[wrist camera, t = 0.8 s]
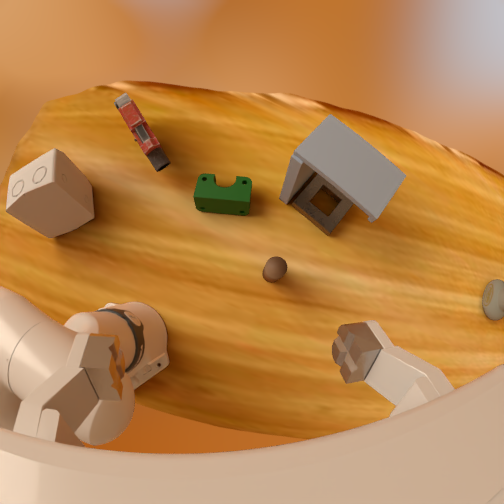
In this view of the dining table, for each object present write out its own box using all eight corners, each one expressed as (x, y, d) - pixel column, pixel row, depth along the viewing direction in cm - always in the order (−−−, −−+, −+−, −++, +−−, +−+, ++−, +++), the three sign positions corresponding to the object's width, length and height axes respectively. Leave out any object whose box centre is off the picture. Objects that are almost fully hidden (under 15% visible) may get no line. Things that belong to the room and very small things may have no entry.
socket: (327, 235, 62) (330, 233, 60) (291, 205, 63) (293, 202, 61) (352, 202, 64) (356, 199, 61) (318, 174, 65) (321, 170, 62)
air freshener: (492, 323, 59) (516, 324, 49) (476, 314, 59) (501, 314, 50) (501, 286, 61) (524, 283, 51) (485, 276, 61) (509, 272, 51)
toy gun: (160, 178, 68) (151, 169, 53) (122, 115, 64) (106, 93, 49) (174, 170, 68) (168, 157, 53) (135, 107, 64) (122, 83, 49)
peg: (272, 285, 61) (277, 282, 49) (258, 274, 61) (261, 268, 49) (283, 272, 61) (291, 266, 49) (270, 261, 61) (275, 252, 50)
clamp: (242, 200, 68) (260, 180, 60) (239, 223, 66) (257, 204, 58) (193, 184, 64) (205, 161, 56) (187, 207, 61) (199, 185, 54)
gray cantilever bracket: (336, 246, 62) (375, 221, 41) (279, 198, 64) (292, 152, 43) (363, 210, 63) (407, 173, 42) (309, 165, 65) (331, 112, 44)
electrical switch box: (94, 170, 67) (55, 124, 48) (98, 219, 63) (50, 178, 44) (52, 192, 66) (9, 154, 47) (52, 240, 62) (1, 208, 43)
